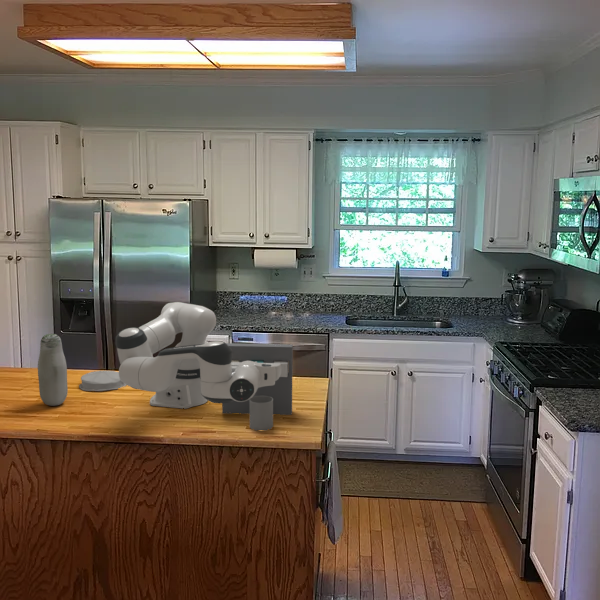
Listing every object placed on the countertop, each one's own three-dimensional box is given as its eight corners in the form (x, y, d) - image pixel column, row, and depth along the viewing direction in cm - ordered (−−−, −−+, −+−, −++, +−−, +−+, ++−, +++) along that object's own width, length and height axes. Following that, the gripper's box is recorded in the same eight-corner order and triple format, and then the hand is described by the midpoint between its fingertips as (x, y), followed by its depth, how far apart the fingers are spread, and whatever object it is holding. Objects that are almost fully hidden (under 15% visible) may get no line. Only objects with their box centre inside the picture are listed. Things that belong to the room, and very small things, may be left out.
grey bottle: (35, 404, 246) (31, 334, 242) (60, 398, 254) (57, 329, 249) (47, 411, 240) (43, 338, 235) (73, 404, 247) (69, 334, 242)
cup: (249, 422, 230) (249, 395, 229) (272, 421, 231) (272, 395, 229) (249, 431, 222) (249, 403, 220) (273, 430, 223) (273, 403, 221)
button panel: (222, 413, 239) (221, 345, 235) (223, 409, 243) (223, 343, 239) (291, 414, 238) (292, 347, 234) (292, 411, 242) (292, 344, 238)
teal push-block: (249, 376, 233) (249, 363, 232) (250, 371, 239) (250, 358, 238) (262, 376, 233) (262, 363, 232) (264, 371, 239) (264, 358, 238)
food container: (92, 378, 283) (91, 363, 282) (135, 379, 280) (134, 364, 279) (70, 392, 264) (68, 377, 262) (116, 394, 261) (115, 378, 260)
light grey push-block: (273, 376, 233) (273, 363, 232) (274, 372, 239) (274, 359, 238) (287, 377, 233) (287, 363, 232) (288, 372, 239) (288, 359, 238)
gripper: (215, 384, 205) (222, 371, 218) (279, 385, 204) (282, 373, 217) (215, 364, 203) (222, 354, 217) (279, 366, 203) (282, 355, 216)
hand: (252, 363), depth 217 cm, fingers closed
